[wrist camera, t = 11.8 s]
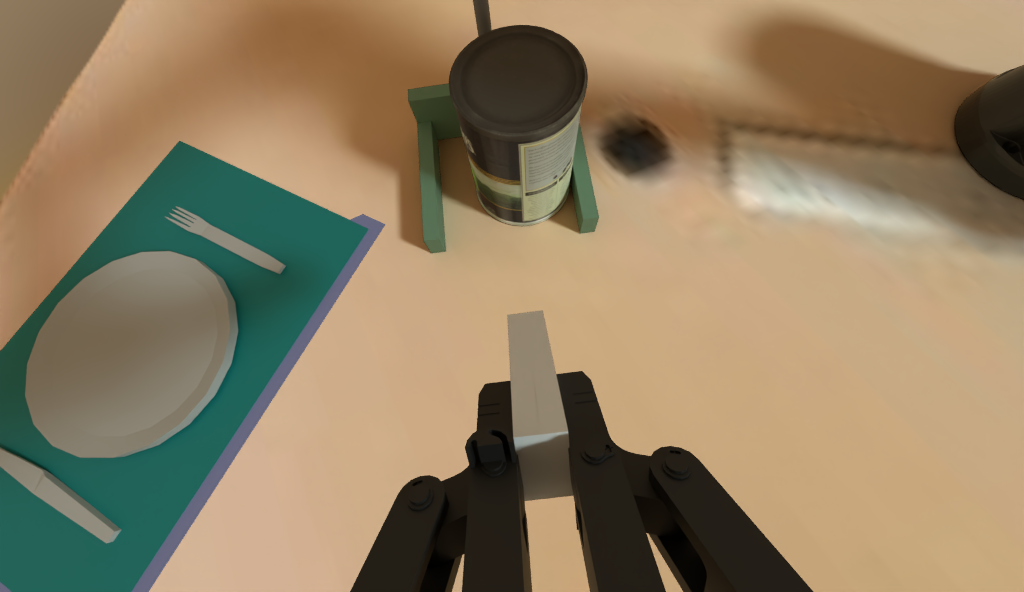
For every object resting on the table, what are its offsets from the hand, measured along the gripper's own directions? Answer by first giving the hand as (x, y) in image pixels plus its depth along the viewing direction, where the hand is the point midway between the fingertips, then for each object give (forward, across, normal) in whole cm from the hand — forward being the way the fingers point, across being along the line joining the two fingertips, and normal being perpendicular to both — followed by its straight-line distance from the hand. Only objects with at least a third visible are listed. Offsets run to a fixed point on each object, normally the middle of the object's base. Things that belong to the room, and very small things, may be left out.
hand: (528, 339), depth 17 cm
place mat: (+20, -39, -9) cm, 45 cm away
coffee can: (+29, +2, 0) cm, 29 cm away
